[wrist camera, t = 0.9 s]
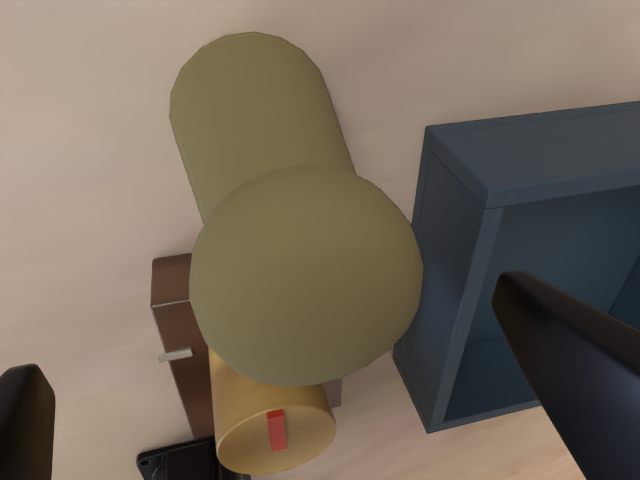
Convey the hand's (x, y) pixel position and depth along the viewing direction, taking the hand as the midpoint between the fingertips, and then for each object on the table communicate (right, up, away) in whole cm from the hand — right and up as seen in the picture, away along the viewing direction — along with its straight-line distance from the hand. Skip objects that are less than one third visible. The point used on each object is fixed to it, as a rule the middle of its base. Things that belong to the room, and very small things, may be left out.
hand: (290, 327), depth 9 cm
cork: (-2, +7, +9) cm, 11 cm away
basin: (+13, +2, +17) cm, 21 cm away
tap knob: (-2, -3, +12) cm, 12 cm away
